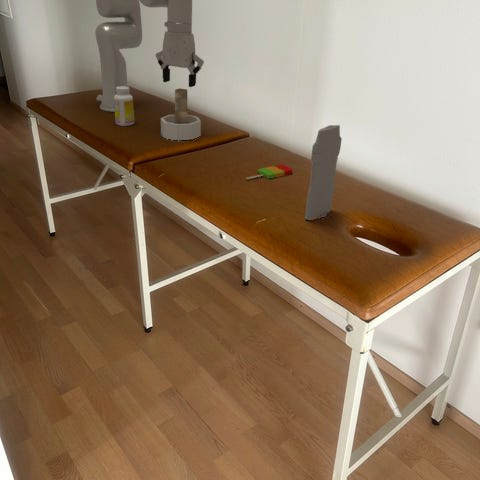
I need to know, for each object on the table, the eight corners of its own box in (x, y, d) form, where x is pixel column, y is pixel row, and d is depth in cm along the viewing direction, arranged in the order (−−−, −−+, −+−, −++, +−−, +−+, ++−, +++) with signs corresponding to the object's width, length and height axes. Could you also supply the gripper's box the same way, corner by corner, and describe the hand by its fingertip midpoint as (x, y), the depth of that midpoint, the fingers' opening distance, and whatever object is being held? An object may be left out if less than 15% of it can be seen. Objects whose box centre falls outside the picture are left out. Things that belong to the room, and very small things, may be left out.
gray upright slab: (323, 206, 129) (335, 119, 119) (337, 211, 127) (350, 123, 116) (297, 218, 122) (307, 127, 112) (311, 224, 120) (323, 131, 109)
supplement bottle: (136, 122, 188) (134, 86, 182) (131, 127, 183) (129, 90, 176) (118, 120, 189) (116, 85, 183) (113, 125, 183) (110, 88, 177)
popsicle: (293, 175, 149) (294, 169, 148) (252, 185, 141) (252, 178, 140) (281, 169, 153) (282, 163, 152) (240, 178, 145) (240, 172, 144)
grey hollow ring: (155, 137, 173) (154, 120, 171) (174, 128, 184) (174, 112, 181) (187, 143, 169) (187, 126, 166) (205, 134, 179) (206, 118, 176)
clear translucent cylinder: (175, 131, 175) (174, 89, 169) (179, 129, 178) (179, 88, 171) (183, 133, 174) (182, 91, 168) (187, 131, 177) (187, 89, 170)
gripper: (149, 25, 160) (150, 81, 169) (197, 32, 154) (196, 90, 163) (162, 23, 166) (163, 77, 175) (209, 30, 160) (207, 86, 169)
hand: (179, 83), depth 169 cm, fingers open, 9 cm apart
